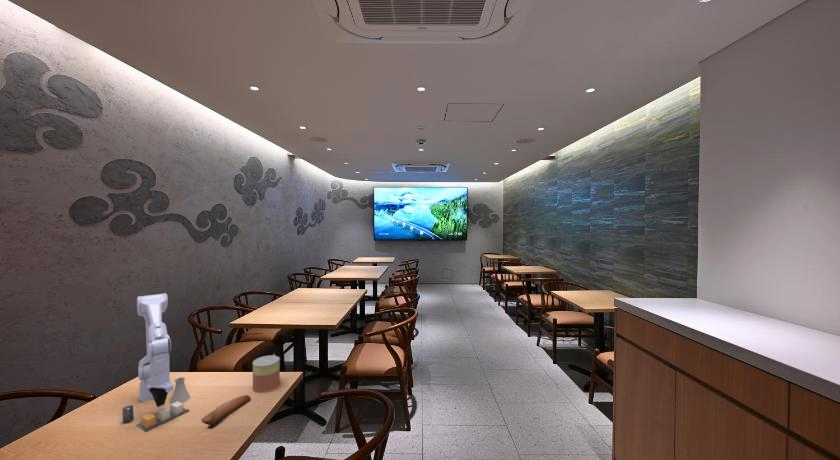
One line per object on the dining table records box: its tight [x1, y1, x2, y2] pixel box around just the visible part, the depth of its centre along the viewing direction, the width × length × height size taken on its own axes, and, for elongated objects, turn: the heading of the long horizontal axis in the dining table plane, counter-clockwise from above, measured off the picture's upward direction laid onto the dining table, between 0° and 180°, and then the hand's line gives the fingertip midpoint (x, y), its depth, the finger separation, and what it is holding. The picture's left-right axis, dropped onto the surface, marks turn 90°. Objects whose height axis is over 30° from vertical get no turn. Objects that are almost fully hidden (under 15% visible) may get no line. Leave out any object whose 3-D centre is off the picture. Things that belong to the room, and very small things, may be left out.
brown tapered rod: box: [201, 394, 252, 430], centre depth 126 cm, size 18×7×7 cm
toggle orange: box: [141, 413, 157, 428], centre depth 117 cm, size 4×2×3 cm, turn 63°
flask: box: [169, 376, 191, 404], centre depth 133 cm, size 7×7×10 cm
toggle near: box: [169, 401, 184, 415], centre depth 125 cm, size 4×2×3 cm, turn 63°
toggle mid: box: [156, 406, 170, 421], centre depth 121 cm, size 4×2×3 cm, turn 63°
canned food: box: [252, 354, 281, 394], centre depth 146 cm, size 11×11×12 cm
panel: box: [135, 407, 190, 433], centre depth 121 cm, size 8×14×2 cm, turn 153°
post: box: [121, 404, 135, 424], centre depth 119 cm, size 4×4×6 cm
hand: (160, 405), depth 121 cm, fingers closed
